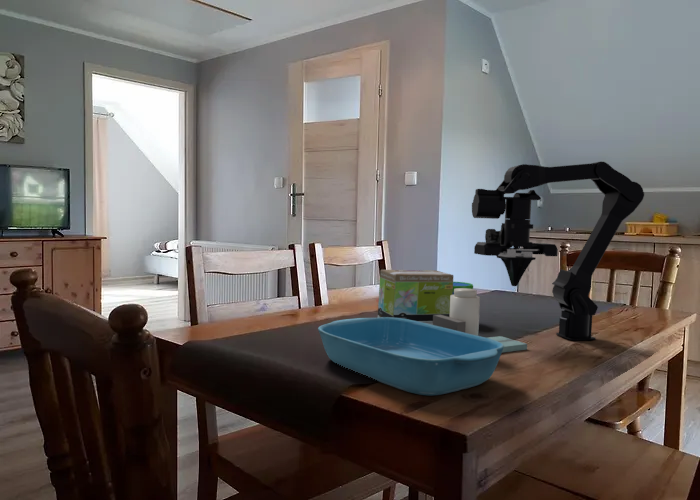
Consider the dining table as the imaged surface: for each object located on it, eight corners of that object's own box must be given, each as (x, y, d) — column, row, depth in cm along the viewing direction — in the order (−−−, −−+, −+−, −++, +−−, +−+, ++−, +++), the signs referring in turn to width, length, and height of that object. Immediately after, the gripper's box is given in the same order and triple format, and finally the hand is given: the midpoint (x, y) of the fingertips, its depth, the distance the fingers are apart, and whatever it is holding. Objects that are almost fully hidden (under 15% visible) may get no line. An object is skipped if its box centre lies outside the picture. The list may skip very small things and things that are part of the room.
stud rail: (500, 341, 127) (501, 309, 126) (526, 349, 120) (528, 316, 119) (431, 349, 118) (433, 315, 117) (456, 358, 111) (457, 322, 110)
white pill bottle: (464, 339, 121) (467, 287, 120) (483, 346, 115) (486, 291, 115) (442, 342, 118) (444, 288, 117) (461, 348, 112) (463, 292, 112)
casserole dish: (297, 357, 109) (298, 321, 109) (384, 343, 123) (385, 311, 122) (434, 414, 80) (436, 365, 79) (528, 388, 93) (531, 346, 93)
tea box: (392, 338, 127) (394, 273, 126) (376, 329, 136) (378, 268, 135) (451, 335, 132) (454, 273, 131) (432, 327, 141) (434, 268, 140)
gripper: (534, 219, 140) (530, 281, 142) (465, 217, 136) (462, 281, 137) (560, 220, 130) (557, 287, 131) (487, 218, 125) (483, 288, 126)
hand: (514, 286), depth 132 cm, fingers closed
